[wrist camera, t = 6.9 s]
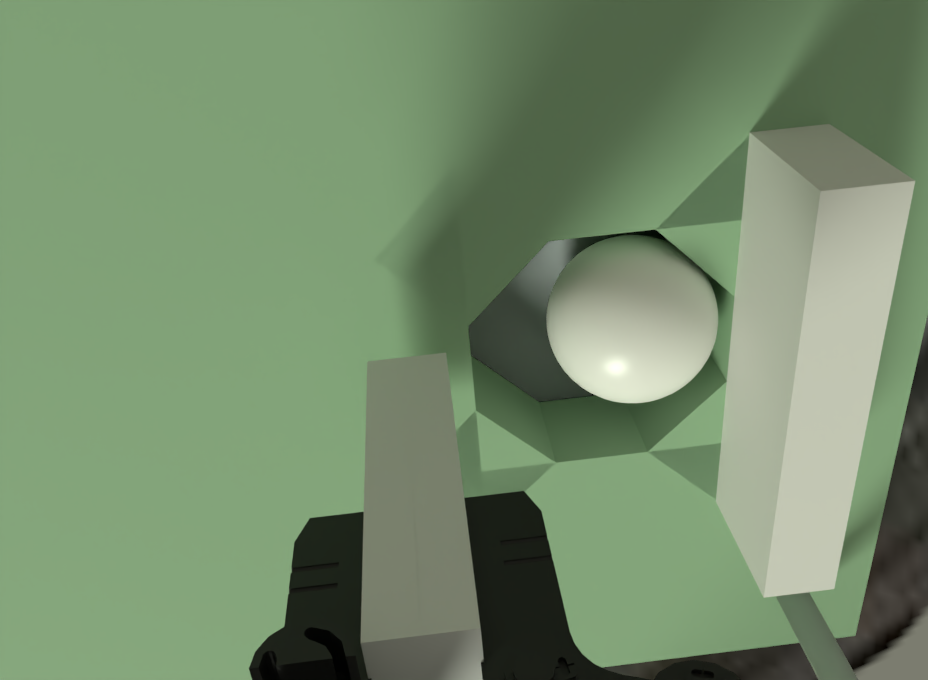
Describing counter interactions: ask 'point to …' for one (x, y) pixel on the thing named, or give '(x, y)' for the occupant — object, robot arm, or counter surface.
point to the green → (444, 304)
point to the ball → (632, 319)
